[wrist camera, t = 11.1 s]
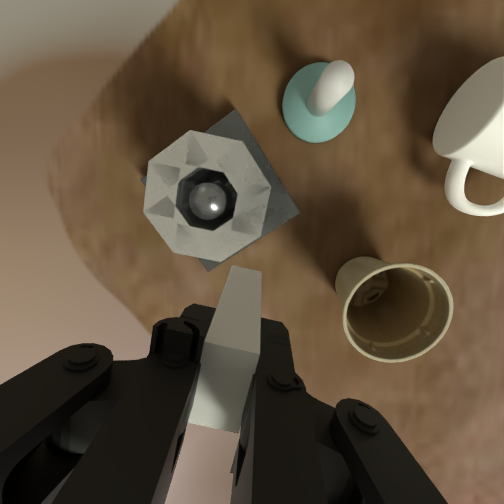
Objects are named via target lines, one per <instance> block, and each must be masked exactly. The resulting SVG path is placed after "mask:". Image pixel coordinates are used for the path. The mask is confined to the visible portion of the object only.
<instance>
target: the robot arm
mask: <svg viewBox="0 0 504 504" xmlns="http://www.w3.org/2000/svg"><path fill="white" fill-rule="evenodd" d="M261 280H262V272H260V271H255V270H251V269H246V268H242V267H238V266H233V265H232V267H231V270H230V273H229V275H228V278H227V281H226V284H225V286H224V289H223V292H222V295H221V297H220V300H219V303H218V306H217V308H212V307H207V306H203V305H198V304H192V305H190V306H188V307H187V308H185V309H184V311H183V312H182V314H181V316H180V317H174V318H166V319H163V320H160V321H158V322H157V323H156V324H155V325H153V331H152V338H151V345H150V352H149V355H148V356H147V358H143V359H139V360H128V361H127V360H125V361H123V360H122V361H113V355H112V352H111V350H109V349H108V348H106V347H105V346H103V345H99V344H94V343H82V344H77V345H72V346H69V347H67V348H65V349H62V350H60V351H58V352H56V353H55V354H53V355H51V356H49V357H48V358H46V359H44V360H42V361H41V362H39V363H37V364H36V365H34V366H32V367H30V368H29V369H27V370H25V371H23V372H22V373H20V374H18V375H16V376H15V377H13V378H11V379H10V380H8V381H6V382H4V383H3V384H1V385H0V504H164V503H165V500H166V497H167V493H168V490H169V487H170V483H171V480H172V477H173V473H174V470H175V467H176V464H177V460H178V457H179V454H180V450H181V447H182V444H183V440H184V436H185V431H186V426H187V423H192V424H197V425H202V426H206V427H211V428H216V429H220V430H225V431H230V432H234V433H239V430H240V426H241V431H240V439H239V443H238V446H237V450H236V453H235V457H234V461H233V464H232V468H231V472H230V473H234V475H233V485H232V495H231V503H230V504H448V503H447V502H446V500H445V499H444V498H443V496H442V495H441V493H440V492H439V491H438V489H437V488H436V487H435V485H434V484H433V483H432V481H431V480H430V479H429V477H428V476H427V474H426V473H425V472H424V470H423V469H422V468H421V466H420V465H419V464H418V462H417V461H416V460H415V458H414V457H413V456H412V454H411V453H410V451H409V450H408V449H407V447H406V446H405V445H404V443H403V442H402V441H401V439H400V438H399V437H398V435H397V434H396V433H395V431H394V430H393V428H392V427H391V426H390V424H389V423H388V422H387V420H386V419H385V418H384V417H383V416H382V415H381V414H380V413H379V412H378V411H377V410H375V409H374V408H373V407H371V406H370V405H368V404H366V403H364V402H362V401H360V400H356V399H351V398H348V399H342V400H341V401H339V402H338V403H337V405H336V408H334V407H332V406H330V405H327V404H325V403H323V402H321V401H319V400H317V399H316V398H314V397H312V396H311V395H310V394H308V393H307V392H306V387H305V385H304V383H303V380H302V379H301V378H300V377H299V376H298V375H297V374H296V373H295V369H294V363H293V357H292V351H291V348H290V347H291V345H290V340H289V332H288V330H287V328H286V327H285V326H284V324H283V323H282V322H279V321H274V320H270V319H265V318H261Z"/></svg>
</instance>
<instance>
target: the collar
mask: <svg viewBox="0 0 504 504" xmlns="http://www.w3.org/2000/svg"><path fill="white" fill-rule="evenodd" d="M212 170H214V171H218V172H223V173H224V174H225V175H226V177H227V178H228V180H229V181H230V183H231V184H232V186H233V187H234V189H235V190H236V192H237V193H238V195H237V200H236V206H235V211H234V214H232V215H231V216H229V217H228V218H226V219H225V220H219V219H211V220H205V219H201V218H199V217H198V216H196V215H195V214H194V213H193V211H192V210H191V208H190V205H189V196H190V193H191V191H192V190H193V188H194V187H196V183H197V181H198V180H199V179H201V178H202V177H204V176H205V175H206V174H208V173H209V172H211V171H212ZM270 191H271V186H270V184H269V183H268V181H267V180H266V178H265V176H264V175H263V173H262V172H261V170H260V168H259V167H258V165H257V164H256V162H255V160H254V159H253V157H252V156H251V154H250V152H249V151H248V149H247V148H246V146H245V144H244V143H243V141H239V140H234V139H229V138H225V137H220V136H215V135H211V134H206V133H201V132H197V131H192V130H190V131H188V132H187V133H186V134H184V135H183V136H182V137H180V138H179V139H178V140H176V141H175V142H174V143H172V144H171V145H170V146H168V147H167V148H166V149H164V150H163V151H162V152H160V153H159V154H158V155H156V156H155V157H154V158H152V159H151V160H150V161H149V162H148V172H147V182H146V192H145V201H144V211H143V212H144V214H145V215H146V216H147V218H148V219H149V220H150V222H151V223H152V224H153V226H154V227H155V228H156V230H157V231H158V232H159V234H160V235H161V237H162V238H163V239H164V241H165V242H166V243H167V245H168V246H169V247H170V249H171V250H172V251H173V252H174V253H178V254H183V255H188V256H193V257H198V258H203V259H208V260H213V261H218V262H221V261H223V260H225V259H226V258H228V257H229V256H231V255H232V254H234V253H235V252H237V251H239V250H240V249H242V248H243V247H245V246H246V245H248V244H250V243H251V242H253V241H254V240H256V239H257V238H259V237H260V236H261V232H262V227H263V223H264V218H265V214H266V209H267V204H268V200H269V195H270Z"/></svg>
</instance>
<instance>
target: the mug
mask: <svg viewBox="0 0 504 504" xmlns="http://www.w3.org/2000/svg"><path fill="white" fill-rule="evenodd" d="M432 143H433V148H434V151H435V152H436V153H437V154H438V155H441V156H443V157H446V158H449V159H451V163H450V166H449V168H448V171H447V175H446V178H445V186H444V189H445V195H446V198H447V200H448V202H449V203H450V204H451V205H452V206H453V207H454V208H456V209H457V210H459V211H461V212H464V213H467V214H470V215H476V216H492V215H497V214H501V213H504V197H503V198H502V199H501V200H500V201H498V202H497V203H495V204H492V205H488V206H482V205H476V204H473V203H471V202H469V201H468V200H467V199H466V197H465V194H464V183H465V178H466V175H467V172H468V169H469V167H472V168H475V169H478V170H480V171H483V172H486V173H488V174H491V175H494V176H496V177H499V178H502V179H504V56H503V57H499V58H496V59H494V60H492V61H490V62H488V63H487V64H485V65H484V66H482V67H481V68H480V69H478V70H477V71H476V72H475V73H474V74H472V75H471V76H470V77H469V78H468V79H467V80H466V81H465V82H464V83H463V84H462V86H461V87H460V88H459V89H458V90H457V91H456V93H455V94H454V95H453V97H452V98H451V99H450V101H449V102H448V104H447V105H446V107H445V109H444V110H443V112H442V114H441V116H440V118H439V120H438V122H437V124H436V127H435V130H434V134H433V141H432Z"/></svg>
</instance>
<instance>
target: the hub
mask: <svg viewBox="0 0 504 504" xmlns="http://www.w3.org/2000/svg"><path fill="white" fill-rule="evenodd" d="M204 133H206V134H211V135H215V136H220V137H225V138H229V139H234V140H239V141H243V143H244V144H245V146H246V148H247V149H248V151H249V152H250V154H251V156H252V157H253V159H254V160H255V162H256V164H257V165H258V167H259V168H260V170H261V172H262V173H263V175H264V176H265V178H266V180H267V181H268V183H269V184H270V186H271V191H270V195H269V200H268V204H267V209H266V214H265V218H264V223H263V227H262V232H261V236H260V237H259V238H257V239H256V240H254V241H253V242H251V243H250V244H248V245H246V246H245V247H243V248H242V249H240V250H239V251H237V252H235V253H234V254H232V255H231V256H229V257H228V258H226V259H225V260H223V261H221V262H218V261H213V260H208V259H203V258H198V257H197V258H198V259H199V260H200V262H201V263H202V264H203V266H204V267H205V268H206V270H207V271H208V272H209V271H210V270H212V269H213V268H215V267H216V266H218V265H219V264H221V263H223V262H224V261H226V260H227V259H229V258H230V257H232V256H234V255H235V254H237V253H238V252H240V251H241V250H243V249H244V248H246V247H248V246H249V245H251V244H252V243H254V242H255V241H257V240H259V239H260V238H262V237H263V236H265V235H266V234H268V233H269V232H271V231H273V230H274V229H276V228H277V227H279V226H280V225H282V224H284V223H285V222H287V221H288V220H290V219H291V218H293V217H294V216H296V215H298V214H299V213H300V212H299V210H298V208H297V207H296V205H295V204H294V202H293V200H292V199H291V197H290V195H289V194H288V192H287V191H286V189H285V187H284V186H283V184H282V182H281V181H280V179H279V178H278V176H277V174H276V173H275V171H274V169H273V168H272V166H271V165H270V163H269V161H268V160H267V158H266V156H265V155H264V153H263V152H262V150H261V148H260V147H259V145H258V143H257V142H256V140H255V139H254V137H253V135H252V134H251V132H250V130H249V129H248V127H247V126H246V124H245V122H244V121H243V119H242V117H241V116H240V114H239V113H238V111H237V109H235V110H233V111H232V112H231V113H229V114H228V115H227V116H225V117H224V118H223V119H221V120H220V121H218V122H217V123H216V124H214V125H213V126H212V127H210V128H209V129H208V130H206V131H205V132H204ZM140 180H141V181H142V182H143V184H144V185H145V186H146V182H147V175H146V176H144V177H143V178H142V179H140ZM237 195H238V193H237V192H236V190H235V189H234V187H233V186H232V184H231V183H230V181H229V180H228V178H227V177H226V175H225V174H224V173H223V172H218V171H214V170H212V171H211V172H209V173H208V174H206V175H205V176H204V177H202V178H201V179H199V180H198V181H197V183H196V187H194V188H193V190H192V191H191V193H190V196H189V205H190V208H191V210H192V211H193V213H194V214H195V215H196V216H198V217H199V218H201V219H205V220H211V219H219V220H225V219H226V218H228V217H229V216H231V215H232V214H234V211H235V206H236V200H237Z"/></svg>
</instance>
